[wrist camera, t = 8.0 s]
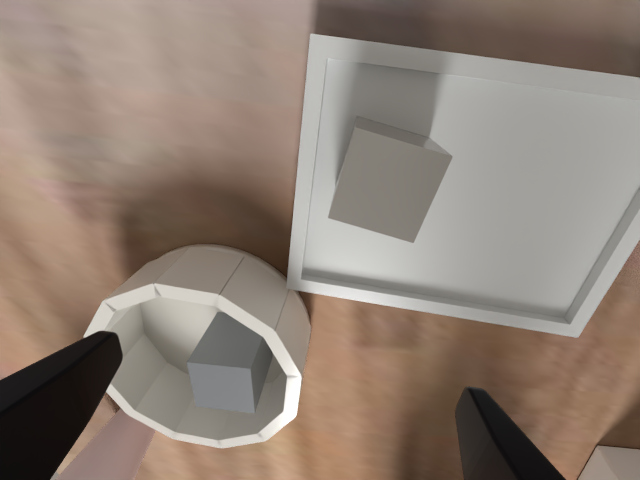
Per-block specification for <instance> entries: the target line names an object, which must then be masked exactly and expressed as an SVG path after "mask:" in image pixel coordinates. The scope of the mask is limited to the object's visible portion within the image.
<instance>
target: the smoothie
mask: <svg viewBox="0 0 640 480" xmlns="http://www.w3.org/2000/svg"><path fill="white" fill-rule="evenodd" d="M155 431H156V430H155V429H153V428H151V427H149V426H147V425H146V424H144V423H142V422H140V421H138V420H136V419H134V418H132V417H131V416H129V415H128V414H126V413H125V412H124V411H123V410H122V409H121V408H120V409H119V410H118V412H117V413H116V414H115V415H114V416H113V417H112V418H111V419H110V420H109V421H108V423H107V424H106V425H105V426H104V427H103V428H102V429H101V430H100V431H99V432H98V433H97V435H96V436H95V437H94V438H93V439H92V440H91V441H90V442H89V443H88V444H87V445H86V447H85V448H84V449H83V450H82V451H81V452H80V453H79V454H78V455H77V456H76V458H75V459H74V460H73V461H72V462H71V463H70V464H69V465H68V466H67V467H66V468H65V470H64V471H63V472H62V473H61V474H60V475H59V476H58V477H57V478H56V479H55V480H134V478H135V476H136V474H137V472H138V469H139V467H140V465H141V463H142V460H143V458H144V456H145V454H146V451H147V449H148V447H149V445H150V442H151V440H152V438H153V436H154V433H155Z"/></svg>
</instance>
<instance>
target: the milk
mask: <svg viewBox="0 0 640 480" xmlns="http://www.w3.org/2000/svg"><path fill="white" fill-rule="evenodd" d="M578 480H640V449H630V448H620V447H609V446H599V445H598V446H597V447H596V448H595V450H594V452H593V454H592V455H591V457H590V459H589V461H588V462H587V464H586V466H585V468H584V470H583V471H582V473H581V475H580V477H579V478H578Z"/></svg>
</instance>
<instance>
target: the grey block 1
mask: <svg viewBox="0 0 640 480" xmlns="http://www.w3.org/2000/svg"><path fill="white" fill-rule="evenodd" d="M272 358H273V353H272V351H271V349H270V347H269V346H268V344H267V342H266V341H265V339H264V337H262V336H261V335H259V334H258V333H256V332H254V331H253V330H251V329H250V328H248V327H247V326H245V325H243V324H242V323H240V322H239V321H237V320H236V319H234V318H233V317H231V316H229V315H228V314H226V313H225V312H217V314H216V315H215V317H214V318H213V320H212V322H211V323H210V325H209V327H208V328H207V330H206V331H205V333H204V335H203V336H202V338H201V339H200V341H199V343H198V344H197V346H196V348H195V349H194V351H193V352H192V354H191V356H190V357H189V359H188V361H187V367H188V372H189V376H190V381H191V386H192V390H193V395H194V400H195V404H196V407H204V408H212V409H221V410H230V411H238V412H247V413H255V412H256V408H257V405H258V402H259V399H260V396H261V393H262V390H263V386H264V383H265V380H266V377H267V374H268V371H269V367H270V364H271V361H272Z"/></svg>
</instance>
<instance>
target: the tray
mask: <svg viewBox="0 0 640 480" xmlns="http://www.w3.org/2000/svg"><path fill="white" fill-rule="evenodd" d="M356 116H360V117H363V118H367V119H370V120H373V121H377V122H380V123H383V124H387V125H390V126H393V127H397V128H400V129H403V130H407V131H410V132H413V133H417V134H420V135H423V136H426V137H430V138H431V139H432V140H433V141H434V142H436V143H437V144H438V145H439V146H441V147H442V148H443V149H444V150H446V151H447V152H448V153H449V154H450V155H452V156H453V157H452V160H451V162H450V164H449V166H448V168H447V171H446V173H445V175H444V177H443V179H442V182H441V184H440V186H439V188H438V190H437V193H436V195H435V197H434V199H433V201H432V204H431V206H430V208H429V210H428V212H427V215H426V217H425V219H424V221H423V223H422V226H421V228H420V230H419V232H418V234H417V237H416V239H415V241H414V243H411V242H408V241H404V240H401V239H398V238H394V237H391V236H387V235H384V234H381V233H377V232H374V231H370V230H367V229H364V228H360V227H357V226H353V225H350V224H347V223H343V222H340V221H336V220H333V219H330V218H328V215H329V211H330V206H331V202H332V198H333V194H334V189H335V185H336V182H337V179H338V175H339V172H340V169H341V166H342V162H343V159H344V156H345V152H346V149H347V146H348V142H349V139H350V136H351V132H352V129H353V126H354V122H355V119H356ZM639 240H640V78H639V77H632V76H624V75H617V74H610V73H602V72H595V71H587V70H580V69H572V68H565V67H557V66H550V65H542V64H535V63H527V62H520V61H512V60H505V59H497V58H490V57H482V56H475V55H467V54H460V53H453V52H445V51H438V50H430V49H423V48H415V47H408V46H400V45H393V44H385V43H378V42H370V41H363V40H355V39H348V38H340V37H333V36H325V35H318V34H310V42H309V52H308V63H307V73H306V84H305V95H304V105H303V116H302V126H301V137H300V147H299V158H298V169H297V179H296V190H295V200H294V211H293V222H292V232H291V243H290V253H289V264H288V274H287V285H286V289H291V290H297V291H303V292H309V293H315V294H321V295H327V296H333V297H339V298H345V299H351V300H357V301H362V302H368V303H374V304H380V305H386V306H392V307H398V308H404V309H410V310H416V311H422V312H428V313H434V314H440V315H445V316H451V317H457V318H463V319H469V320H475V321H481V322H487V323H493V324H499V325H505V326H511V327H517V328H522V329H528V330H534V331H540V332H546V333H552V334H558V335H564V336H570V337H576V338H578V337H579V335H580V334H581V332H582V330H583V329H584V327H585V326H586V324H587V322H588V321H589V319H590V318H591V316H592V315H593V313H594V311H595V310H596V308H597V307H598V305H599V303H600V302H601V300H602V299H603V297H604V295H605V294H606V292H607V291H608V289H609V287H610V286H611V284H612V283H613V281H614V280H615V278H616V276H617V275H618V273H619V272H620V270H621V268H622V267H623V265H624V264H625V262H626V260H627V259H628V257H629V256H630V254H631V252H632V251H633V249H634V248H635V246H636V244H637V243H638V241H639Z"/></svg>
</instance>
